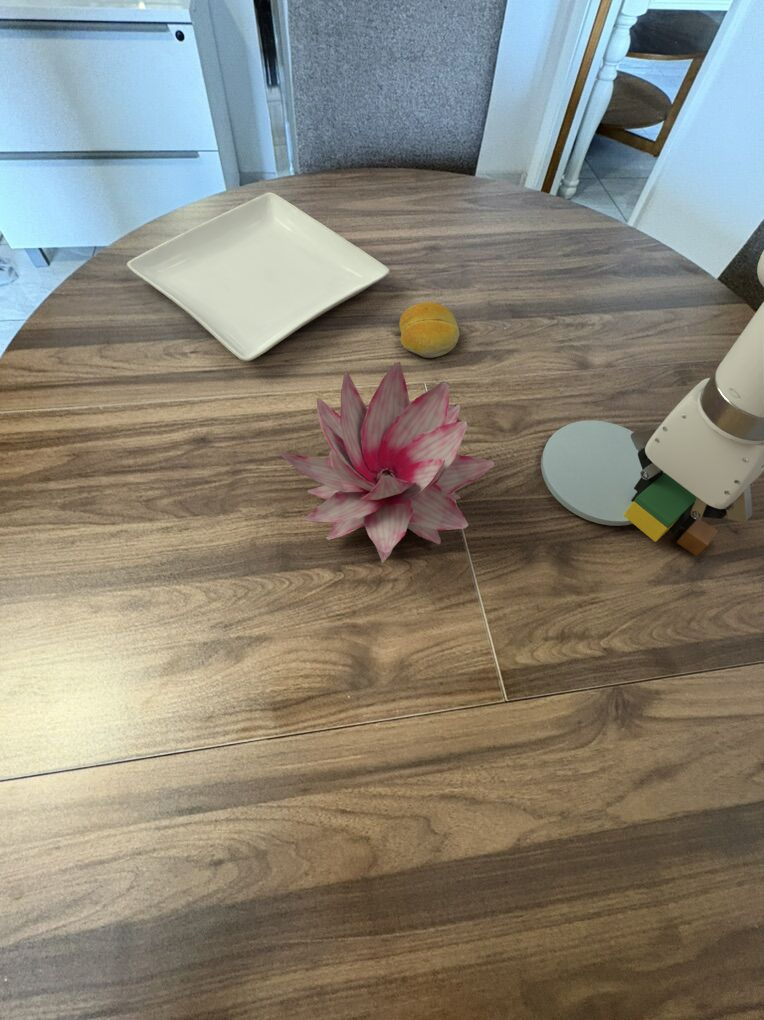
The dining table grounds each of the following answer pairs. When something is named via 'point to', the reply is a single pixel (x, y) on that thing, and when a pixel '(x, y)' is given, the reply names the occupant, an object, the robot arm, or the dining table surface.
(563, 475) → the plate
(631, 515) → the sponge
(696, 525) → the small brown block
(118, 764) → the dining table surface
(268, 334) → the square plate
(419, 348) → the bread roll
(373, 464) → the decorative flower
